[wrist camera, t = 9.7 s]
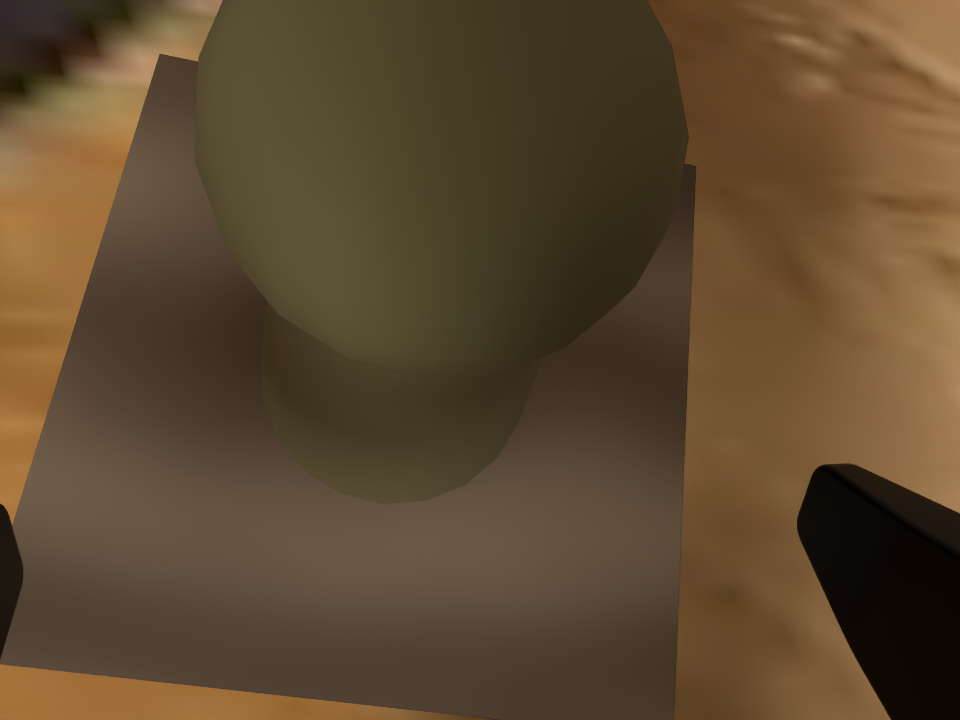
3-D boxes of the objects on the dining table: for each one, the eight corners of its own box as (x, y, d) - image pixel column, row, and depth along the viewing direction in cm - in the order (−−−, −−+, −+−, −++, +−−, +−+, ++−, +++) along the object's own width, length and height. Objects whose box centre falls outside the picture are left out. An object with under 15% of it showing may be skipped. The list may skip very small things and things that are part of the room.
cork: (387, 202, 18) (434, -313, 8) (576, 363, 18) (896, 51, 7) (200, 378, 16) (-76, 8, 6) (408, 563, 16) (517, 527, 5)
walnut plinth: (610, 708, 19) (673, 739, 16) (51, 643, 18) (-30, 661, 14) (641, 232, 24) (695, 165, 20) (193, 144, 22) (159, 54, 18)
